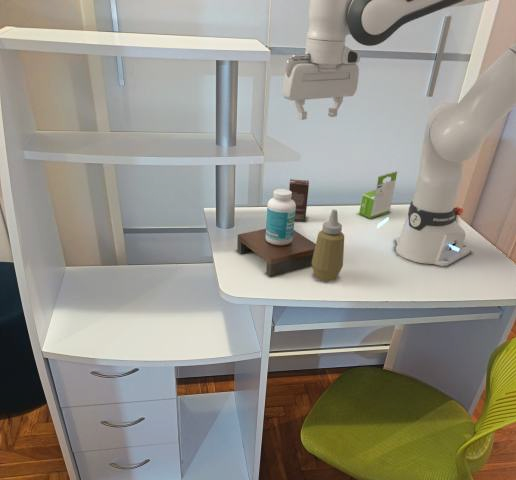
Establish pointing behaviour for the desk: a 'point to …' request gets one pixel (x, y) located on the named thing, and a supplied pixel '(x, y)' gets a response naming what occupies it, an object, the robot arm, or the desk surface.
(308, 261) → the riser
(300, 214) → the box
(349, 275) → the desk surface
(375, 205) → the ink box
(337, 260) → the squeeze bottle
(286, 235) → the pill bottle
